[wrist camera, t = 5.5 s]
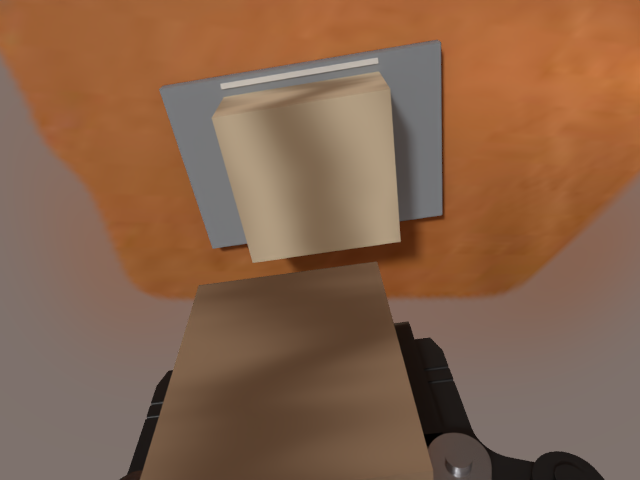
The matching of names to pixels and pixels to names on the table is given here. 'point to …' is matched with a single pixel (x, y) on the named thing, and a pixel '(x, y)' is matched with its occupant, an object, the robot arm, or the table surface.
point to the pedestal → (312, 166)
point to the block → (290, 385)
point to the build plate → (393, 64)
